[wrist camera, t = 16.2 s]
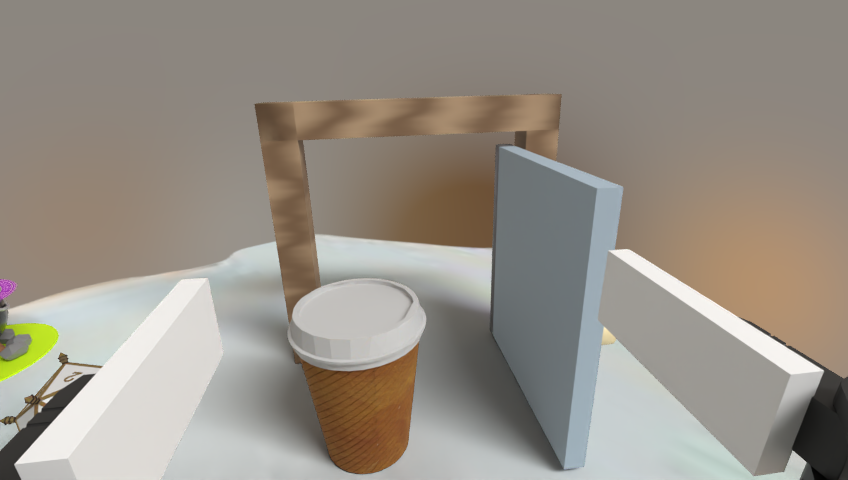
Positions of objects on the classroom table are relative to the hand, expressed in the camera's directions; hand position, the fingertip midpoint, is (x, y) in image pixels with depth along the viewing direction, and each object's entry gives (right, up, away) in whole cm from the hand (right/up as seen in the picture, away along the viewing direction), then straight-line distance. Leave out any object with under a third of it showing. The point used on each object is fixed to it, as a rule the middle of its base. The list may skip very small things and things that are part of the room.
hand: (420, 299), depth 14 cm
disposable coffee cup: (-4, -14, +19) cm, 24 cm away
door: (+10, -11, +24) cm, 29 cm away
